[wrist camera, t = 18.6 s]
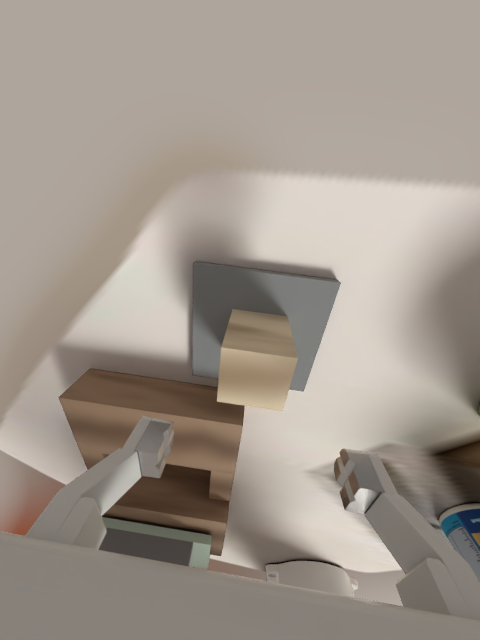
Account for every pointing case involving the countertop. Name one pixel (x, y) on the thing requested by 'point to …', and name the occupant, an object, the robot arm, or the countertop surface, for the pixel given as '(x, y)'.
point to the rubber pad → (263, 297)
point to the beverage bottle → (464, 532)
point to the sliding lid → (156, 543)
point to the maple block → (256, 360)
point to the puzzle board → (184, 458)
